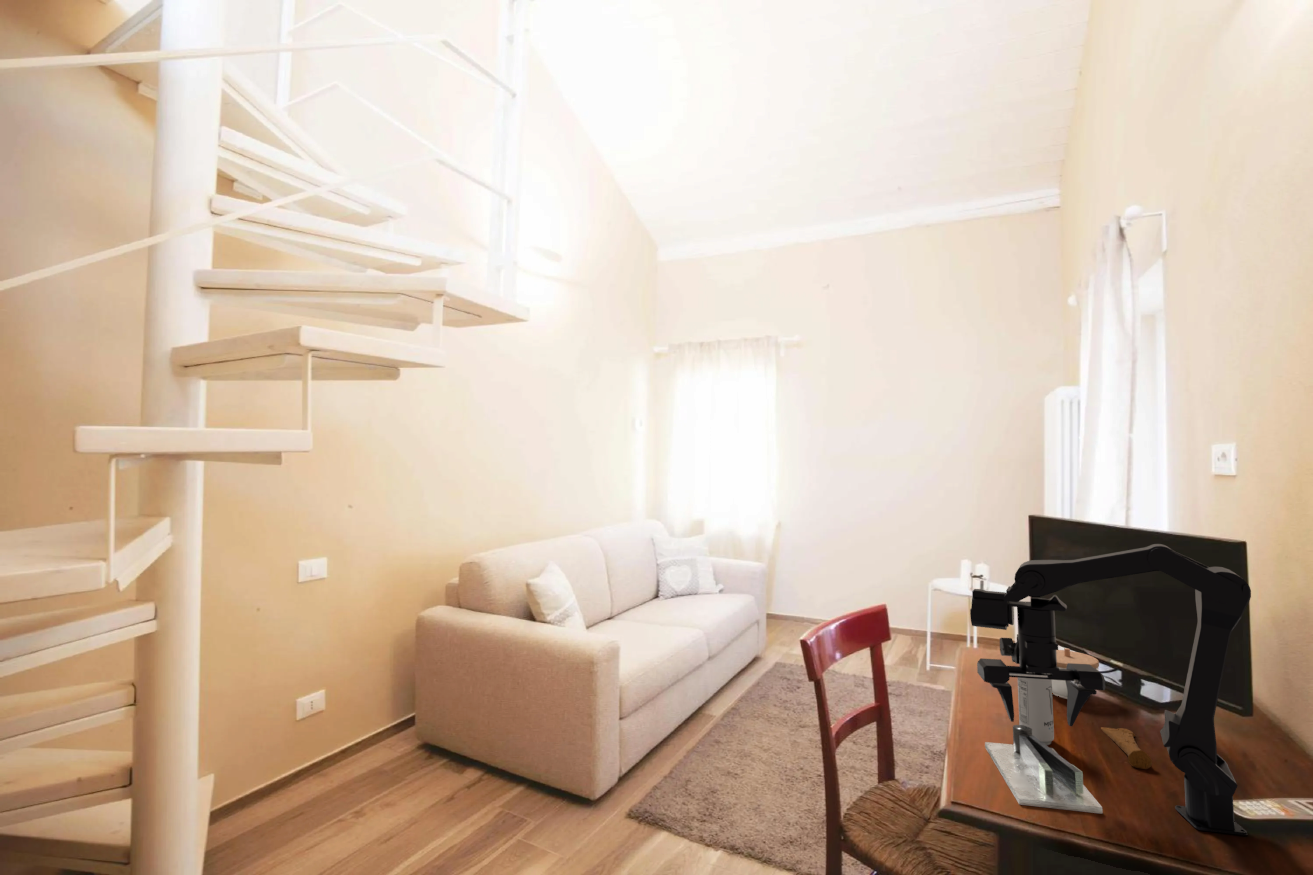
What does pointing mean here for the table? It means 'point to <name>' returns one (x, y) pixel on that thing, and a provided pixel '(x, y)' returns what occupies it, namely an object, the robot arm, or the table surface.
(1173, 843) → the table surface
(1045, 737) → the energy drink can
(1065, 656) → the lidded bowl
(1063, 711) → the table surface
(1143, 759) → the primitive tool
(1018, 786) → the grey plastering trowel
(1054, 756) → the green glass bar
